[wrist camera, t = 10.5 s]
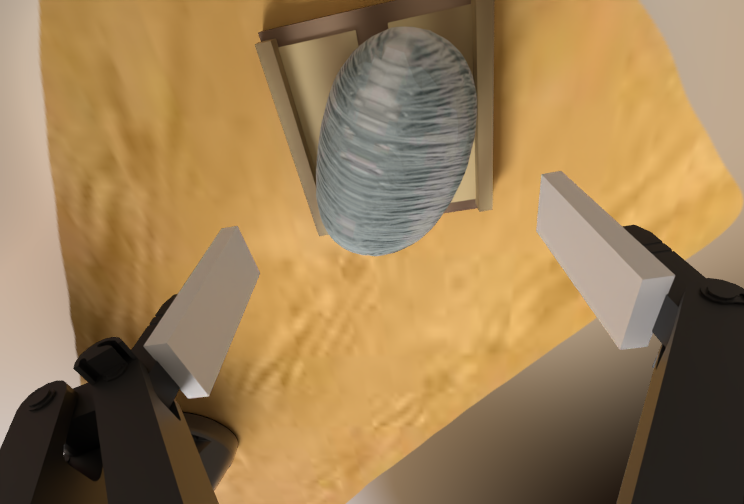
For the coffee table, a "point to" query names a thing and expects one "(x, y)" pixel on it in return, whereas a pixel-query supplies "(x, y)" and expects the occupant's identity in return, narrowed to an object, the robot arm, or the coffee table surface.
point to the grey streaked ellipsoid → (394, 140)
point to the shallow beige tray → (334, 46)
